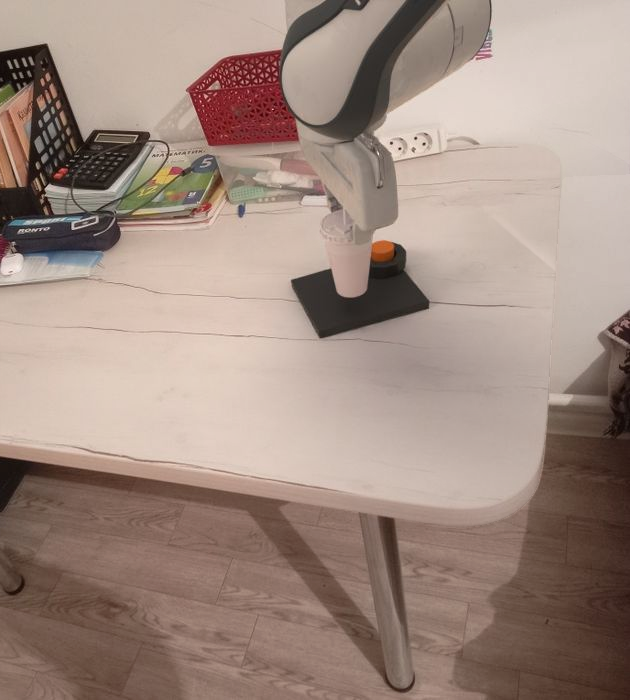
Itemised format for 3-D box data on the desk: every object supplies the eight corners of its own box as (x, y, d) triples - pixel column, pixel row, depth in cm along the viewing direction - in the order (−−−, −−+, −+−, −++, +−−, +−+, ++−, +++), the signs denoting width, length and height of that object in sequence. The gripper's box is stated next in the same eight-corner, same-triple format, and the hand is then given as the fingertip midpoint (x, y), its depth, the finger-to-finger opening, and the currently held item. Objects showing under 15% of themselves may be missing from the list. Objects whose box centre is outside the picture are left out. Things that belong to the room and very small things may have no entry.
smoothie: (321, 303, 77) (310, 204, 68) (330, 272, 81) (321, 175, 72) (375, 305, 74) (371, 202, 65) (381, 273, 78) (379, 172, 69)
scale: (394, 255, 86) (394, 236, 84) (436, 306, 77) (437, 286, 75) (290, 284, 87) (288, 267, 85) (319, 338, 78) (317, 320, 76)
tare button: (388, 247, 84) (388, 237, 83) (398, 258, 81) (397, 249, 80) (366, 253, 84) (366, 244, 83) (375, 265, 82) (375, 255, 81)
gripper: (416, 135, 55) (414, 263, 63) (336, 71, 70) (343, 181, 79) (347, 156, 55) (354, 280, 64) (282, 87, 71) (295, 195, 80)
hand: (348, 224), depth 72 cm, fingers closed on smoothie, 6 cm apart
